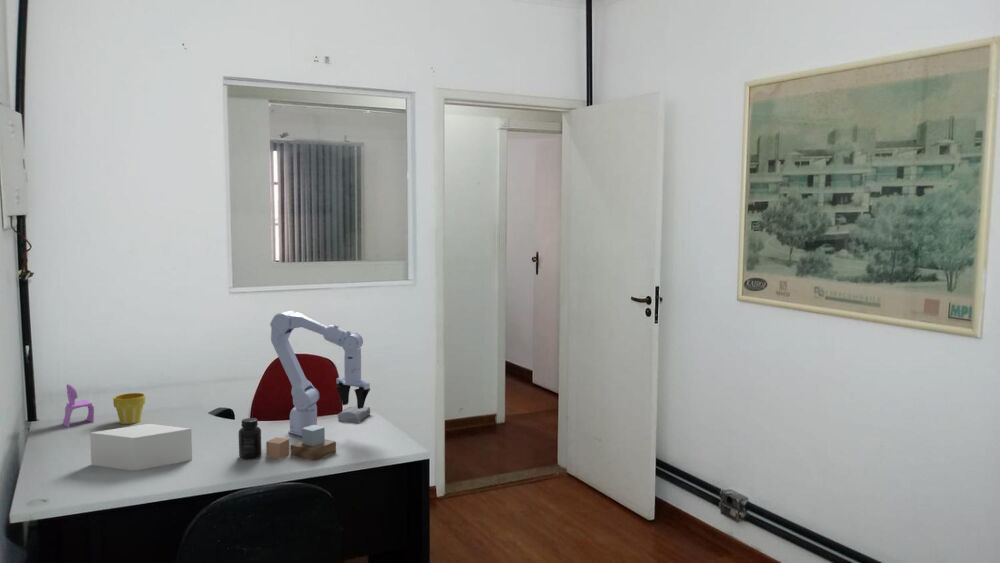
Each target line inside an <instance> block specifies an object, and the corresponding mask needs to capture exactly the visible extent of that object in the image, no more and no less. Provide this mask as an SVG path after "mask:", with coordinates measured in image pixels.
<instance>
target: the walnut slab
mask: <svg viewBox="0 0 1000 563" xmlns="http://www.w3.org/2000/svg"><path fill="white" fill-rule="evenodd" d="M336 452H337V441H335V440H330V439H326V438H325V442H324V443H321V444H318V445H315V446H310V445H306V444H303V443H302V440H300V441H298V442H295V443H292V444H290V456H291V457H293V458H294V457H295V458H298V459H303V460H307V461H311V462H316V461H318V460H320V459H323V458H326V457H328V456H330V455H332V454H335V453H336Z"/></svg>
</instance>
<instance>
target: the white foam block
mask: <svg viewBox="0 0 1000 563" xmlns="http://www.w3.org/2000/svg"><path fill="white" fill-rule="evenodd" d="M89 436H90V437H89V439H90V459H91V460H90V465H91V466H98V467H105V468H114V469H120V470H126V471H133V472H136V471H141V470H145V469H150V468H156V467H162V466H166V465H173V464H178V463H183V462H188V461H192V460H193V443H192V442H193V441H192V428H189V427H188V428H187V427H179V426H170V425H162V424H154V423H145V424H138V425H132V426H126V427H119V428H113V429H105V430H98V431H93V432H92V431H91V432H90V433H89Z"/></svg>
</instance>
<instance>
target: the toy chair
mask: <svg viewBox="0 0 1000 563" xmlns="http://www.w3.org/2000/svg"><path fill="white" fill-rule="evenodd" d="M66 394H67V398H68V399H67V400H68V402H67V403H66V406H65V408H64V418H63V420H62V421H63V422H62V424H61V425H63V426H65V427H67V428H70V425H71V424H70V423H71V422H70V421H71V416H72V413H73V411H74V410H77V409H79V408H84V407H85V408H86V407H87V411H88V413H87V417H86V419H85V420H86V421H88V422H90V423H93V424H94V421H95V420H94V419H95V415H94V414H95V407H94V405H93V402H90V401H88V400H87V399H84V400H79V401H75V400H77V398H78V394H77V390H76V388H75V387H74V386H73V385H72V384H69V383H67V384H66ZM78 399H79V398H78Z"/></svg>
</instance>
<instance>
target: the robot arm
mask: <svg viewBox="0 0 1000 563" xmlns="http://www.w3.org/2000/svg"><path fill="white" fill-rule="evenodd" d="M269 325H270V328H271V333H270V341H271V344H272V346H273V348H274V350H275V353H276V354H277V357H278V359H279V361H280V363H281V365H282V367H283V370H284V372H285V374H286V376H287V377H288V380H289V382H290V385H291V390H290V391H291V392H290V393H291V396H292V403H293V406H294V407H293V408H292V409H291V410H290V413H289V430H288V431H287V433H288V434H292V435H297V436H300V437H302V428H305V427H308V426H311V425H317V426H318V406H317V402H318V401H319V399H320V392H319V390H318V389H317V388H315V386H314V385H313V384H312V382H311V381H310V380H308V378H307V377H306V375H305V374H304V371H303V369H302V367H301V365H300V362H299V360H298V358H297V356H296V353H295V352H294V350H293V347H292V345H291V343H290V341H289V338H290V337H291V333H292V332H293V331H294V329H298V328H303V329H306V330H307V331H311V332H313V333H317V334H319V335H321V336H322V337H323V339H324V341H327V342H329V343H331V344H334V345H336V346H339V347H341V348H342V349H343V351H344V356H343V357H344V360H343V362H344V377H341V376H340V377H337V378H336V379H335V380H336V381H335V382H336V384H337V385H335V389H336V390H337V392H338V395H339V397H340V401H341V404H342V406H345V405H346V406H347V405H348V404H349V402H350V401H349V398H350V397H349V396H350V391H351V387H353V388H354V387H355V389H354V393H355V396H356V404H357V405H356V406H357V407H358V409H361V408H363V407H365V403H366V402H365V401H366V399H367V396H368V394H369V392H370V391H371V388H370V387H371V384H370V382H368V381H365V380H362V348H361V347H362V346H363V344H364V339H363V337H362V335H361V334H359V333H358V332H352V331H350V330H345V329H343V328H340V327H339V326H340V325H338V324H330V325H328V326H327V325H326V324H323V323H321V322H319V321H316V320H315V319H314V318H310V317H309V316H306V315H304V314H303V313H302V312H296V311H294V310H293V309H290V310H286V311H283V312H281V313H276V314H275V315H273V318H272V319H271V321H270V323H269Z"/></svg>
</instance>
